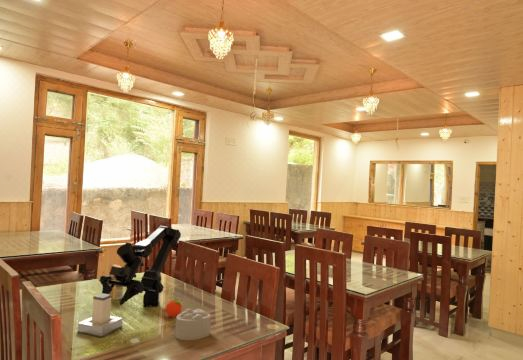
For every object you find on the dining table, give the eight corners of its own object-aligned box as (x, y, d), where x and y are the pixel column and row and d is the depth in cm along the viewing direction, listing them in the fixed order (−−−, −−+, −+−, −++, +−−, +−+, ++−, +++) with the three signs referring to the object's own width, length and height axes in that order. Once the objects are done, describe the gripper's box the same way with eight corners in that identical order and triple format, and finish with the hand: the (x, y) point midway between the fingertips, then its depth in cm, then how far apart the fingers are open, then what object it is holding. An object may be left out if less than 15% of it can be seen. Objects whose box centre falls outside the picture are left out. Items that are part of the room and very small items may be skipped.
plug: (99, 325, 138) (102, 293, 139) (109, 327, 137) (111, 294, 137) (91, 329, 134) (93, 296, 134) (100, 331, 133) (103, 298, 133)
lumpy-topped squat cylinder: (213, 335, 137) (214, 312, 137) (182, 343, 128) (184, 319, 128) (199, 326, 144) (200, 304, 145) (169, 333, 136) (171, 310, 136)
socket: (99, 322, 142) (99, 313, 142) (121, 326, 139) (122, 318, 139) (77, 332, 132) (78, 323, 132) (101, 337, 129) (102, 328, 129)
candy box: (122, 299, 172) (124, 267, 173) (114, 300, 169) (116, 268, 170) (115, 294, 179) (117, 264, 179) (107, 295, 176) (109, 264, 176)
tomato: (186, 315, 155) (187, 299, 155) (178, 321, 149) (179, 304, 149) (170, 312, 157) (171, 296, 158) (161, 318, 151) (162, 301, 151)
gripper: (103, 255, 148) (81, 289, 138) (141, 260, 143) (121, 296, 132) (115, 270, 156) (95, 303, 145) (151, 276, 150) (133, 310, 139)
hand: (110, 302), depth 140 cm, fingers open, 9 cm apart
